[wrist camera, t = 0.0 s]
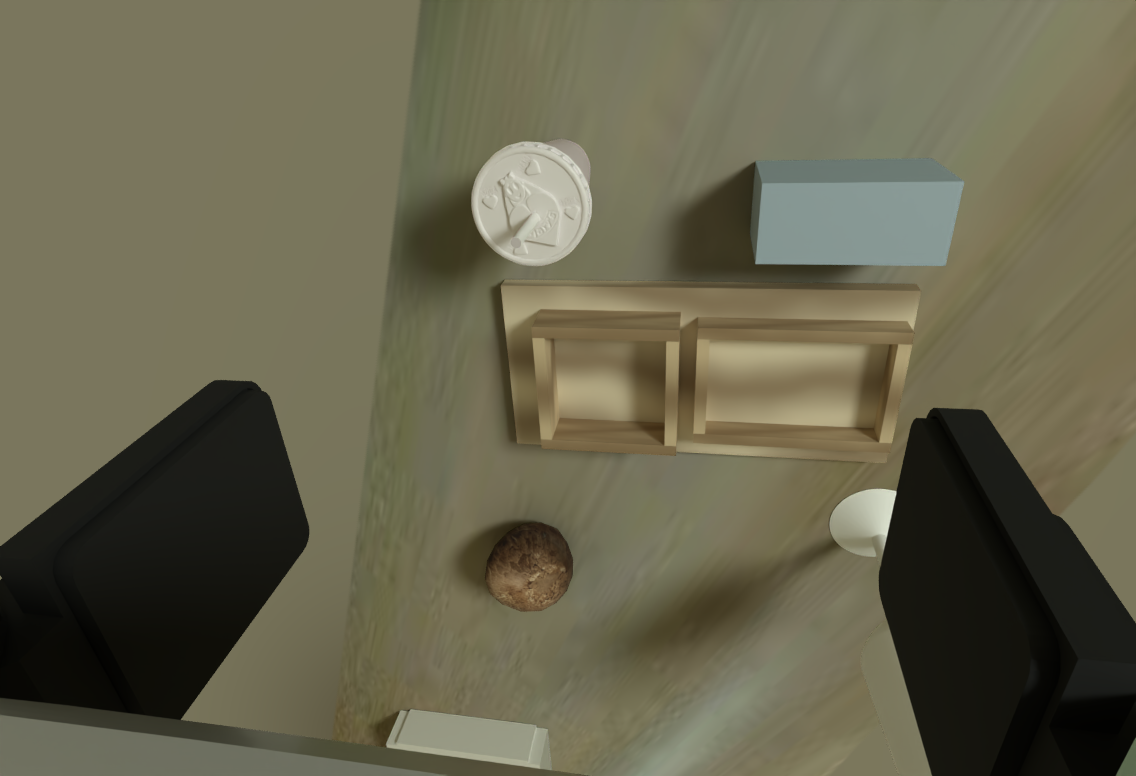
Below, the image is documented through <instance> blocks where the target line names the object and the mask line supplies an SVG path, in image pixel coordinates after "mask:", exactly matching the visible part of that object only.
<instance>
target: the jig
mask: <svg viewBox="0 0 1136 776" xmlns="http://www.w3.org/2000/svg"><path fill="white" fill-rule="evenodd" d="M501 293H502V303H503V312H504V322H505V331H506V341H507V350H508V360H509V369H510V379H511V389H512V398H513V408H514V417H515V427H516V436H517V443H521V444H540V445H541V446H542V449H560V450H578V451H596V452H615V453H633V454H651V455H670V456H676V452H689V453H708V454H727V455H745V456H764V457H783V458H801V459H820V460H839V461H857V462H876V463H886V460H887V455H888V453H890V450H891V445H892V440H893V435H894V430H895V426H896V421H897V416H898V411H899V406H900V402H901V397H902V392H903V387H904V382H905V377H906V373H907V368H908V363H909V358H910V353H911V349H912V344H913V339H914V334H915V333H914V331H913V329H914V324H915V319H916V314H917V309H918V304H919V300H920V295H921V290H920V289H919V287H918V286H917V284H866V283H776V282H686V281H597V280H507V279H505V280H504V282H503V283H502V284H501Z"/></svg>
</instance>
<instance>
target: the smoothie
mask: <svg viewBox="0 0 1136 776" xmlns="http://www.w3.org/2000/svg"><path fill="white" fill-rule="evenodd" d="M589 180H590V162H589V159H588V156H587V154H586V153H585V151H584V150H583V149H582V148H581V147H580V146H579V145H578V144H576V143H575V142H573V141H570V140H566V139H556V140H552V141H548V142H544V143H540V142H519V143H516V144H512V145H508V146H506V147H504V148H503V149H501V150H499V151H498V152H496V153H494V154H493V156H492V157H491V158H490V159H489V160H488V161H487V162H486V163H485V164H484V166H483V167H482V169H481V170H480V172H479V173H478V175H477V177H476V180H475V182H474V185H473V190H472V196H471V207H472V214H473V218H474V221H475V224H476V227H477V229H478V231H479V233H480V234H481V236H482V238H483V239H484V240H485V242H486V243H487V244H488V245H489V246H490V247H491V248H492V249H493V250H494V251H495V252H496V253H498V254H499V255H501V256H502V257H504V258H505V259H507V260H510V261H512V262H514V263H517V264H521V265H527V266H541V265H547V264H551V263H553V262H556V261H558V260H560V259H562V258H564V257H565V256H566V255H568V254H569V253H570V252H571V251H572V250H573V249H574V248H575V247H576V246H577V245H578V243H579V242H580V241H581V239H582V237H583V236H584V234H585V233H586V231H587V229H588V225H589V222H590V218H591V214H592V198H591V194H590V190H589Z"/></svg>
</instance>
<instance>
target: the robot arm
mask: <svg viewBox="0 0 1136 776" xmlns="http://www.w3.org/2000/svg"><path fill="white" fill-rule="evenodd" d="M308 538H309V525H308V521H307V518H306V515H305V511H304V508H303V505H302V501H301V498H300V495H299V492H298V488H297V485H296V481H295V478H294V475H293V471H292V468H291V465H290V461H289V458H288V455H287V451H286V448H285V445H284V441H283V438H282V435H281V431H280V428H279V425H278V421H277V418H276V415H275V411H274V408H273V405H272V401H271V399H270V397H269V395H268V394H267V393H266V392H264V391H261V388H260V387H259V386H258V385H257V384H256V383H254V382H252V381H230V380H229V381H228V380H215V381H213V382H211V383H209V384H208V385H207V386H205V387H204V388H203V389H201V390H200V391H199V392H198V393H196V394H195V395H194V396H193V397H192V398H190V399H189V400H188V401H186V402H185V403H184V404H182V405H181V406H180V407H178V408H177V409H176V410H175V411H173V412H172V413H171V414H169V415H168V416H167V417H166V418H164V419H163V420H162V421H160V422H159V423H158V424H157V425H155V426H154V427H153V428H151V429H150V430H149V431H148V432H146V433H145V434H144V435H143V436H141V437H140V438H139V439H137V440H136V441H135V442H134V443H132V444H131V445H130V446H128V447H127V448H126V449H125V450H123V451H122V452H121V453H119V454H118V455H117V456H116V457H114V458H113V459H112V460H110V461H109V462H108V463H107V464H105V465H104V466H103V467H101V468H100V469H99V470H98V471H96V472H95V473H94V474H93V475H91V476H90V477H89V478H87V479H86V480H85V481H84V482H82V483H81V484H80V485H79V486H77V487H76V488H75V489H73V490H72V491H71V492H70V493H68V494H67V495H66V496H64V497H63V498H62V499H60V500H59V501H58V502H57V503H55V504H54V505H53V506H52V507H51V508H49V509H48V510H46V511H45V512H44V513H43V514H41V515H40V516H39V517H38V518H36V519H35V520H34V521H32V522H31V523H30V524H28V525H27V526H26V527H25V528H23V529H22V530H21V531H19V532H18V533H17V534H16V535H14V536H13V537H12V538H10V539H9V540H8V541H7V542H6V543H4V544H3V545H2V546H0V576H1V577H2V579H1V580H0V776H588V775H581V774H574V773H567V772H560V771H553V770H546V769H539V768H531V767H524V766H517V765H510V764H503V763H496V762H488V761H481V760H474V759H467V758H459V757H452V756H445V755H437V754H430V753H423V752H415V751H408V750H401V749H394V748H386V747H379V746H372V745H364V744H357V743H349V742H342V741H335V740H327V739H320V738H312V737H305V736H297V735H290V734H282V733H275V732H268V731H261V730H253V729H245V728H238V727H230V726H222V725H214V724H207V723H199V722H192V721H183V720H181V718H182V717H183V716H184V714H185V713H186V711H187V710H188V709H189V707H190V706H191V704H192V703H193V702H194V701H195V699H196V698H197V696H198V695H199V694H200V692H201V691H202V689H203V688H204V687H205V685H206V684H207V683H208V681H209V680H210V678H211V677H212V676H213V674H214V673H215V671H216V670H217V669H218V667H219V666H220V665H221V663H222V662H223V661H224V659H225V658H226V656H227V655H228V654H229V652H230V651H231V650H232V648H233V647H234V645H235V644H236V642H237V641H238V640H239V638H240V637H241V636H242V634H243V633H244V632H245V630H246V629H247V628H248V626H249V625H250V623H251V622H252V620H253V619H254V618H255V617H256V615H257V614H258V612H259V611H260V609H261V608H262V607H263V606H264V604H265V603H266V601H267V600H268V598H269V597H270V596H271V595H272V593H273V592H274V590H275V589H276V587H277V586H278V585H279V583H280V582H281V581H282V579H283V578H284V577H285V575H286V574H287V572H288V571H289V570H290V568H291V567H292V566H293V564H294V563H295V561H296V560H297V559H298V557H299V556H300V555H301V553H302V552H303V550H304V548H305V547H306V545H307V542H308ZM879 592H880V597H881V601H882V605H883V608H884V612H885V615H886V618H887V622H888V625H889V629H890V632H891V636H892V639H893V643H894V646H895V650H896V653H897V657H898V660H899V663H900V667H901V670H902V674H903V677H904V681H905V684H906V688H907V691H908V695H909V698H910V702H911V705H912V709H913V712H914V715H915V719H916V722H917V726H918V729H919V733H920V736H921V740H922V743H923V747H924V750H925V754H926V757H927V760H928V764H929V767H930V771H931V774H932V776H1136V623H1135V621H1134V620H1133V619H1132V617H1131V616H1130V614H1129V613H1128V611H1127V610H1126V608H1125V607H1124V605H1123V604H1122V603H1121V601H1120V600H1119V598H1118V597H1117V595H1116V594H1115V592H1114V591H1113V589H1112V588H1111V586H1110V585H1109V583H1108V582H1107V581H1106V579H1105V578H1104V576H1103V575H1102V573H1101V572H1100V570H1099V569H1098V567H1097V566H1096V565H1095V563H1094V561H1093V560H1092V559H1091V557H1090V556H1089V554H1088V553H1087V551H1086V550H1085V548H1084V547H1083V545H1082V544H1081V542H1080V541H1079V540H1078V538H1077V537H1076V535H1075V534H1074V533H1073V531H1072V530H1071V528H1070V527H1069V525H1068V524H1067V523H1066V522H1065V521H1064V520H1063V519H1062V518H1061V517H1059V516H1056V515H1054V514H1052V512H1051V511H1050V509H1049V508H1048V506H1047V505H1046V503H1045V502H1044V500H1043V499H1042V497H1041V496H1040V494H1039V493H1038V491H1037V490H1036V488H1035V487H1034V485H1033V484H1032V482H1031V481H1030V479H1029V478H1028V476H1027V475H1026V473H1025V472H1024V470H1023V469H1022V467H1021V466H1020V464H1019V463H1018V461H1017V460H1016V458H1015V457H1014V455H1013V454H1012V452H1011V451H1010V449H1009V448H1008V446H1007V445H1006V443H1005V442H1004V440H1003V439H1002V438H1001V436H1000V435H999V433H998V432H997V430H996V429H995V427H994V426H993V424H992V423H991V421H990V420H989V418H988V417H987V415H986V414H985V413H984V412H983V411H982V410H975V409H949V408H933V409H931V410H930V412H929V413H928V415H927V418H916V419H914V421H913V423H912V425H911V428H910V433H909V437H908V442H907V446H906V451H905V456H904V460H903V465H902V469H901V474H900V479H899V483H898V488H897V492H896V497H895V501H894V506H893V511H892V515H891V520H890V524H889V529H888V534H887V538H886V543H885V547H884V552H883V556H882V561H881V566H880V571H879Z"/></svg>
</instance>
